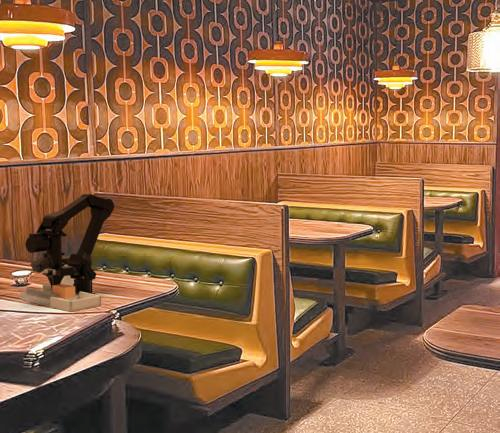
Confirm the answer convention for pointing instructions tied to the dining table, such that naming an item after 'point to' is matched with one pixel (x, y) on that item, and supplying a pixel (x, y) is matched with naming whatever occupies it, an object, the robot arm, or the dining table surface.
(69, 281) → the jar
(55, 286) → the orange rounded block
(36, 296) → the slot plate
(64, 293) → the orange cube
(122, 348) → the dining table surface
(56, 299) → the chip tray
